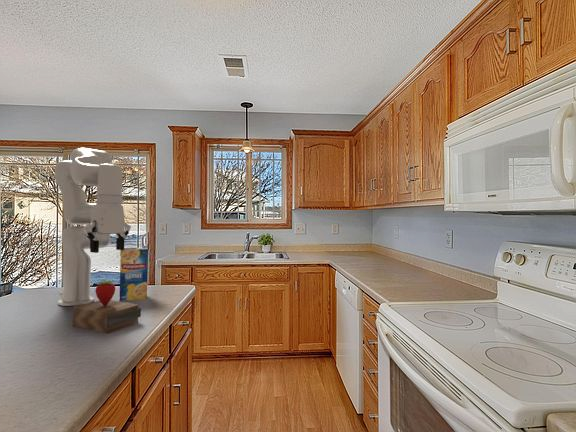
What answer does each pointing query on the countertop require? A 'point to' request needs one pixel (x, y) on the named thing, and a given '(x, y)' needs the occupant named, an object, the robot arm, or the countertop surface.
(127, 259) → the blue yellow food box
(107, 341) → the countertop surface
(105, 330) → the brown wooden block
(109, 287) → the strawberry
